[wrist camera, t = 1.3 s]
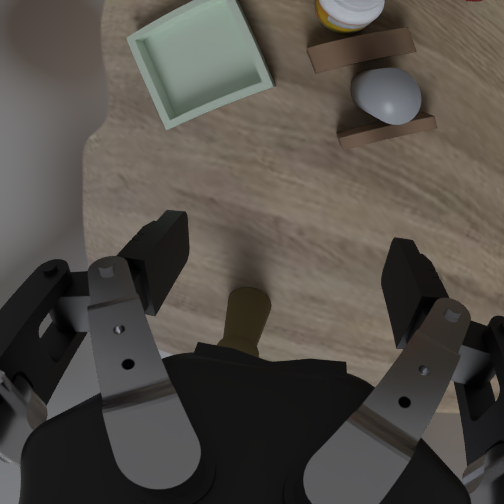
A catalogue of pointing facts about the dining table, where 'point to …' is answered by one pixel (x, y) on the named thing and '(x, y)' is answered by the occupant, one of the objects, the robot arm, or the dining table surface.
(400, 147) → the dining table surface
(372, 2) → the supplement bottle
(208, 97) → the tray
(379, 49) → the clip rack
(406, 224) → the dining table surface
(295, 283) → the dining table surface
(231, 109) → the dining table surface
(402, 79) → the cylinder
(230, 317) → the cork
